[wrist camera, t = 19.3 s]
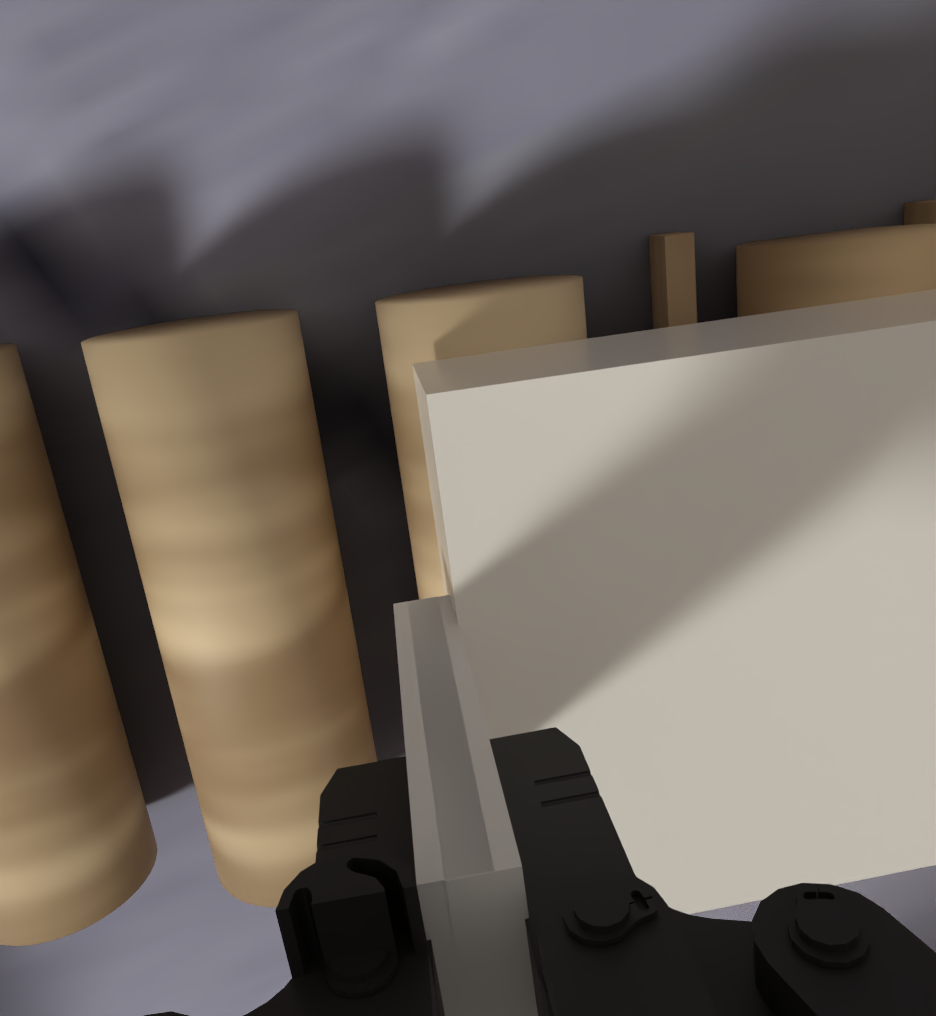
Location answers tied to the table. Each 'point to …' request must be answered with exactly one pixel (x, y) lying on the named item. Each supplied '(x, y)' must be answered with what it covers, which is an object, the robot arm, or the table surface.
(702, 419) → the slab
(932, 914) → the table surface
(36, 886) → the roller bed
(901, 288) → the roller
